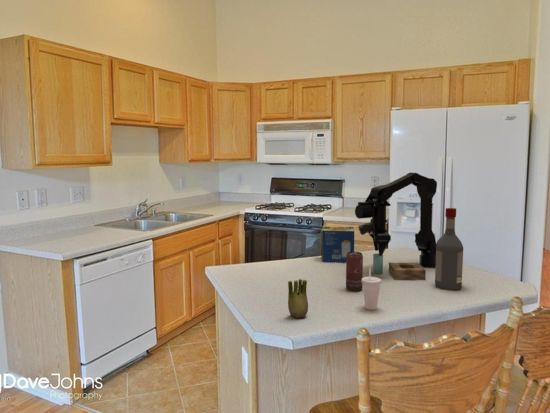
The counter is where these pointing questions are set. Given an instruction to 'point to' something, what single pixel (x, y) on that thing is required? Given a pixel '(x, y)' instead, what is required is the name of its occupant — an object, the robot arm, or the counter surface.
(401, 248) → the counter surface
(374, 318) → the counter surface
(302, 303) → the fennel bulb
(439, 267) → the liquor
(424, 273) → the socket block
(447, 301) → the counter surface
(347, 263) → the can
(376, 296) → the smoothie
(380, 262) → the pin
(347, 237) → the protein box
